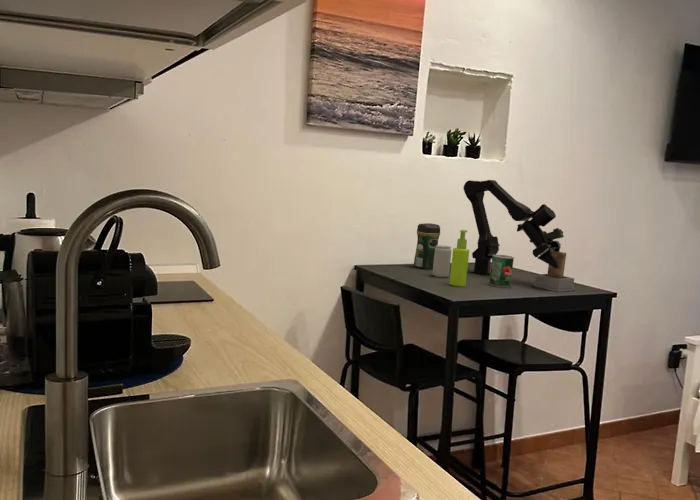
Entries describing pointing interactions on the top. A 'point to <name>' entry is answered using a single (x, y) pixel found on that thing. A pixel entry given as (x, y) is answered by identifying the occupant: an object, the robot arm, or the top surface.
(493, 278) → the canned tomato
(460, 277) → the soap dispenser
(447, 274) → the beverage can
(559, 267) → the brown wooden block
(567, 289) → the grey square tray
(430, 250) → the coffee jar
